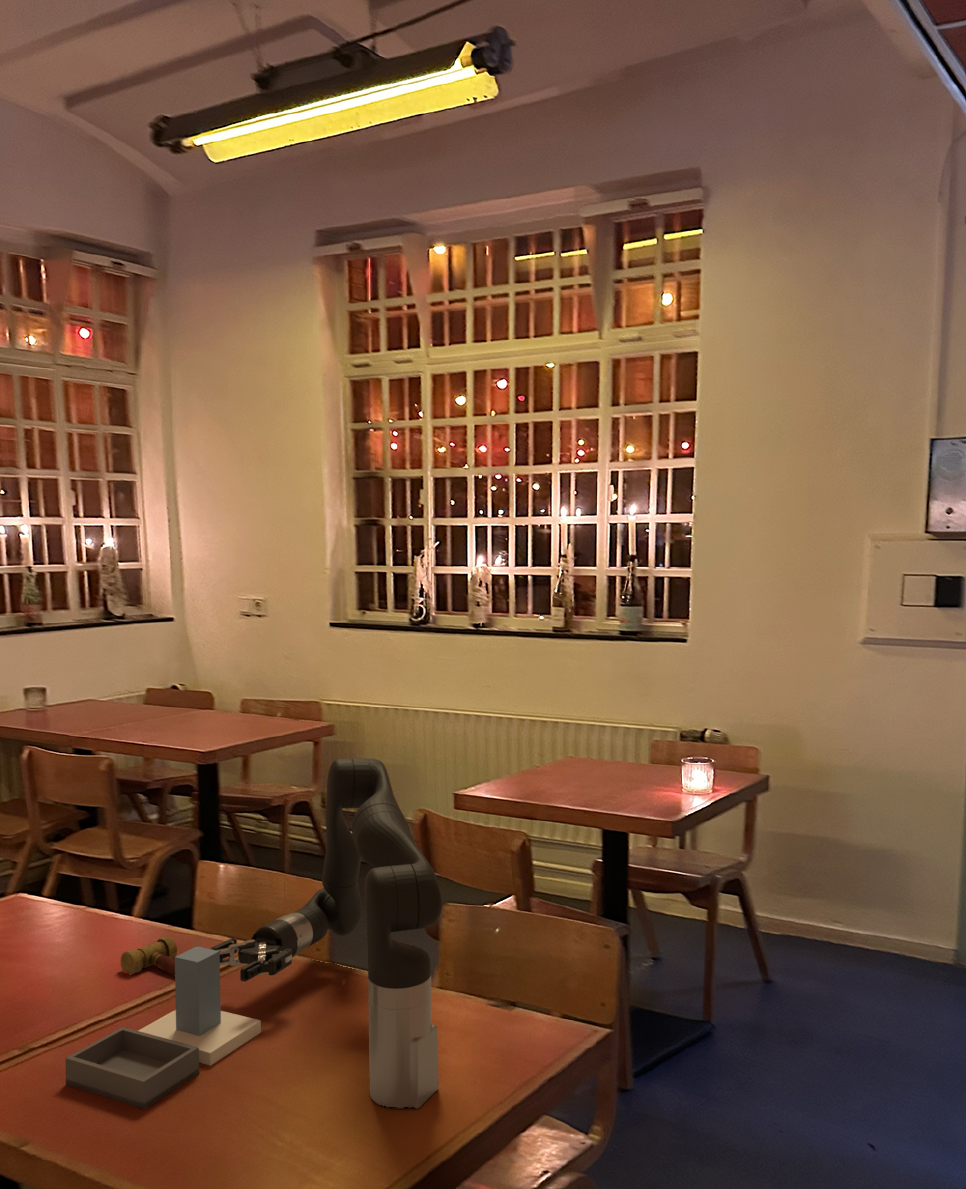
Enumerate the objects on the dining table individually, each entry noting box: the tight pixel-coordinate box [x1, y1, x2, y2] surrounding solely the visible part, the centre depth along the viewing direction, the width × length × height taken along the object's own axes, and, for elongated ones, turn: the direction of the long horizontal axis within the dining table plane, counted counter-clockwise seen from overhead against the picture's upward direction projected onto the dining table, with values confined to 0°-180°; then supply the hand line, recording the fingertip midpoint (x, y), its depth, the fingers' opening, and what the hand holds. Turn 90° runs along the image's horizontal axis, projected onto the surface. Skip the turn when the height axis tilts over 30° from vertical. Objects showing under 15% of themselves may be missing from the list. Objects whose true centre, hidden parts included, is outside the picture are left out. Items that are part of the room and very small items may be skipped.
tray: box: [64, 1026, 200, 1110], centre depth 144 cm, size 16×11×4 cm
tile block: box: [174, 945, 222, 1036], centre depth 157 cm, size 5×5×12 cm
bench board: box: [137, 1009, 262, 1067], centre depth 157 cm, size 16×12×2 cm
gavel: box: [120, 935, 178, 976], centre depth 183 cm, size 21×5×10 cm
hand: (222, 971), depth 162 cm, fingers open, 8 cm apart
